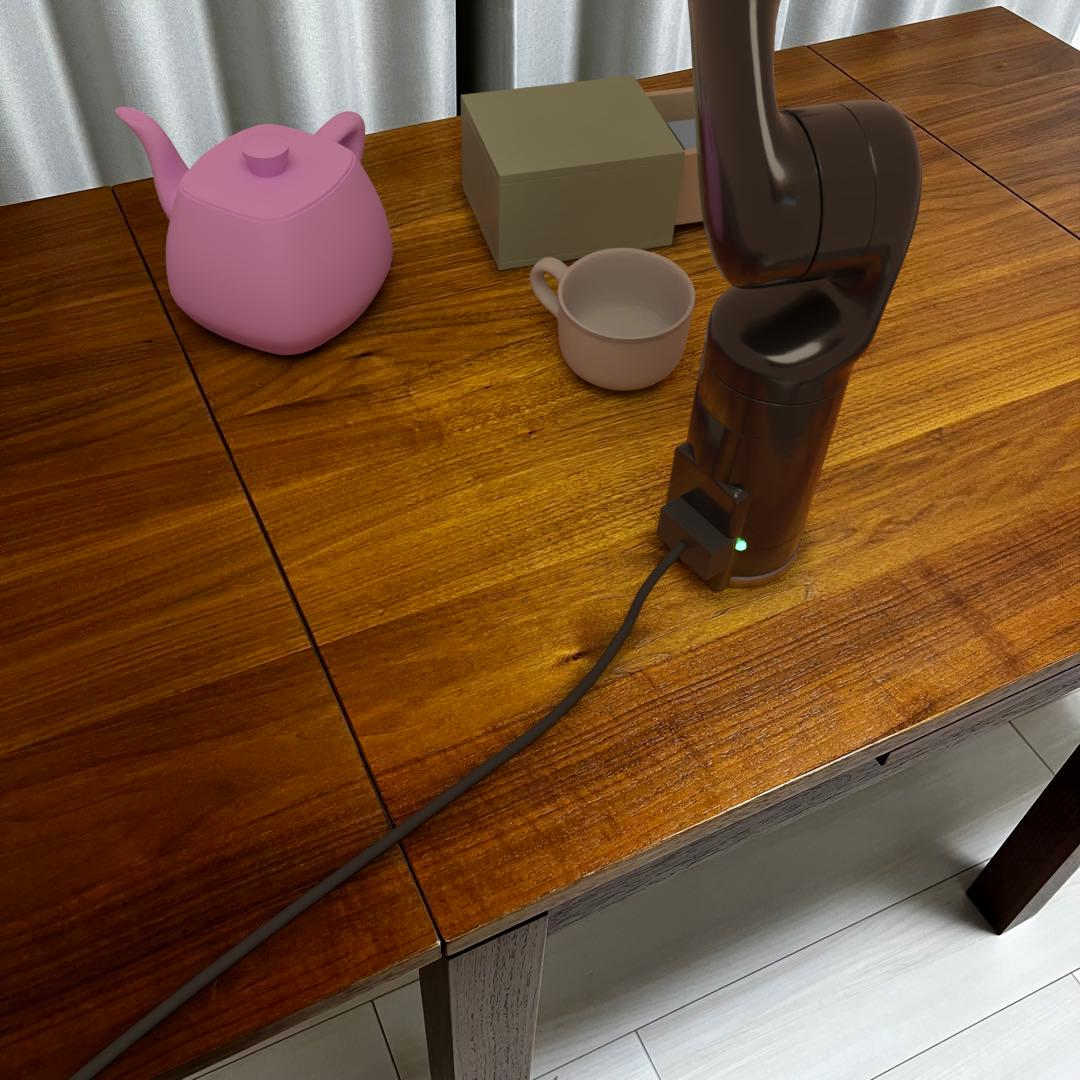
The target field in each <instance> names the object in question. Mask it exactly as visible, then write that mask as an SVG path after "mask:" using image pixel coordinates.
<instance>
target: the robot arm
mask: <svg viewBox="0 0 1080 1080" xmlns="http://www.w3.org/2000/svg"><path fill="white" fill-rule="evenodd" d="M781 1H782V0H687V10H688V11H687V12H688V21H689V22H688V24H689V34H690V35H689V37H690V38H689V39H690V52H691V53H690V54H691V71H692V87H693V92H694V111H695V130H696V149H697V164H698V179H699V192H700V202H701V210H702V218H703V221H702V223H703V228H704V232H705V236H706V241H707V245H708V248H709V252H710V255H711V257H712V260H713V262H714V265H715V266H716V268H717V271H718V272H719V274H720V275H721V276H722V278H723V279H724V280H725V281H726V282H727V283H729V284H730V285H731V286H730V287H728V288H727V289H726V290H725V291H724V292H723V293H721V295H720V296H719V297H718V298H717V299H716V301H715V302H714V304H713V306H712V307H711V310H710V311H709V315H708V318H707V323H706V327H705V331H704V338H703V344H702V345H703V346H702V352H701V356H700V363H699V369H698V374H697V378H696V383H695V390H694V396H693V401H692V406H691V411H690V418H689V423H688V427H687V428H688V429H687V435H686V440H685V442H683V443H680V444H679V445H677V446H675V449H674V451H673V458H672V464H671V470H670V475H669V481H668V486H667V487H668V488H667V493H666V500H665V504H664V505H662V506H661V507H660V511H659V517H658V523H657V528H656V537H658V538H659V541H660V542H661V543H662V544H663V545H664V546H665V547H666V548H667V549H668V550H669V551H668V553H667V554H666V555H665V556H664V557H663V558H662V559H661V561H660V562H659V563H658V564H657V565H656V567H654V568H653V570H652V571H651V573H649V574H648V576H647V578H645V580H644V582H643V583H642V584H641V586H640V587H639V589H638V591H637V593H636V594H635V596H634V598H633V600H632V602H631V605H630V607H629V609H628V611H627V614H626V616H625V619H624V620H623V622H622V624H621V626H620V627H619V629H618V630H617V632H616V633H615V635H614V637H613V638H612V640H611V641H610V643H609V645H608V646H607V647H606V649H605V650H604V652H603V653H602V654H601V656H600V657H599V659H598V660H597V661H596V662H595V664H594V665H593V667H592V668H591V669H590V670H589V672H588V673H587V674H586V675H585V676H584V677H583V678H582V679H581V681H579V683H577V685H575V687H573V689H572V690H571V691H570V692H569V693H568V694H567V695H566V696H565V697H564V698H563V699H562V700H561V701H560V702H559V703H558V704H557V705H556V706H555V707H554V708H553V709H552V710H551V711H549V712H548V713H547V714H546V715H545V716H544V717H543V718H542V719H540V720H539V721H538V722H537V723H536V724H535V725H533V726H532V727H530V728H529V729H528V730H526V731H525V732H524V733H522V734H521V735H520V736H518V737H517V738H516V739H514V740H513V741H512V742H510V743H509V744H507V745H506V746H504V747H503V748H502V749H501V750H499V751H498V752H497V753H495V754H493V755H492V756H490V757H489V758H488V759H487V760H485V761H484V762H482V763H481V764H479V765H478V766H477V767H475V768H474V769H472V770H471V772H469V773H467V774H466V775H465V776H464V777H462V778H461V779H459V780H458V781H457V782H456V783H454V784H453V785H451V786H450V787H449V788H447V789H446V790H445V791H443V792H442V793H440V795H437V796H436V797H435V798H434V799H433V800H431V801H430V802H429V803H427V804H425V805H424V806H423V807H422V808H420V809H419V810H417V811H416V812H415V813H413V814H412V815H411V816H409V817H408V818H407V819H405V820H404V821H402V822H401V823H400V824H398V825H397V826H396V827H394V828H393V829H391V830H390V831H389V832H387V833H386V834H385V835H383V836H382V837H381V838H379V839H377V841H374V842H373V844H370V845H369V846H368V847H367V848H366V849H364V850H363V851H362V852H360V853H358V854H357V855H356V856H354V857H353V858H352V859H350V860H349V861H347V863H344V865H342V866H341V867H339V868H338V869H337V870H336V871H334V872H333V873H331V874H330V875H329V876H327V877H326V878H324V879H323V880H321V881H320V882H319V883H317V884H316V885H315V886H314V887H312V888H311V889H310V890H308V891H306V892H305V893H304V894H303V895H301V896H300V897H298V898H297V899H296V900H294V901H293V902H291V904H289V905H288V906H286V907H285V908H284V909H282V910H281V911H280V912H278V913H277V914H275V915H274V916H273V917H272V918H270V919H269V920H268V921H266V922H265V923H263V924H262V925H261V926H259V927H258V928H257V929H256V930H254V931H253V932H252V933H250V934H249V935H248V936H246V938H244V939H243V940H241V941H240V942H239V943H237V944H236V945H234V946H233V947H231V948H230V949H229V950H228V951H226V952H225V953H224V954H223V955H221V956H220V957H219V958H217V959H216V960H215V961H213V962H212V963H211V964H209V965H208V966H207V967H206V968H205V969H203V970H202V971H201V972H199V973H198V974H196V975H195V976H194V977H193V978H191V979H190V980H189V981H188V982H186V983H185V984H183V986H181V987H179V989H177V990H176V991H175V992H173V993H172V994H171V995H170V996H168V997H167V998H166V999H165V1000H163V1001H162V1002H161V1003H160V1004H158V1005H157V1006H156V1007H155V1008H154V1009H152V1010H151V1011H150V1012H148V1013H147V1014H146V1015H145V1016H144V1017H142V1018H141V1019H139V1020H138V1021H137V1022H136V1023H135V1024H133V1025H132V1026H131V1027H130V1028H128V1029H127V1030H126V1031H125V1032H124V1033H123V1034H121V1035H120V1036H119V1037H118V1038H116V1039H115V1040H114V1041H113V1042H112V1043H110V1044H109V1045H108V1046H107V1047H105V1048H104V1049H103V1050H102V1051H101V1052H99V1053H98V1054H97V1055H95V1056H94V1057H93V1058H92V1059H91V1060H90V1061H89V1062H87V1063H86V1064H84V1066H82V1067H81V1068H80V1069H79V1070H78V1071H76V1072H75V1073H74V1074H73V1075H72V1076H70V1077H69V1078H68V1079H67V1080H91V1079H93V1078H94V1077H95V1076H96V1075H98V1074H99V1073H100V1072H101V1071H102V1070H104V1069H105V1068H106V1067H107V1066H108V1065H109V1064H111V1063H112V1062H113V1061H114V1060H115V1059H117V1058H118V1057H119V1056H120V1055H122V1054H123V1053H124V1052H125V1051H126V1050H128V1049H129V1048H130V1047H131V1046H133V1045H134V1044H135V1043H136V1042H137V1041H138V1040H140V1039H141V1038H142V1037H144V1035H146V1034H147V1033H148V1032H149V1031H151V1030H152V1029H153V1028H154V1027H155V1026H157V1025H158V1024H159V1023H160V1022H162V1021H163V1020H164V1019H166V1018H167V1017H168V1016H169V1015H171V1013H173V1012H175V1010H177V1009H178V1008H179V1007H180V1006H182V1005H183V1004H184V1003H185V1002H187V1001H188V1000H189V999H191V998H192V997H193V996H194V995H196V994H197V993H198V992H199V991H201V990H202V989H204V988H205V987H206V986H207V985H208V984H210V983H211V982H212V981H213V980H215V979H216V978H217V977H219V976H220V975H221V974H223V972H225V971H226V970H228V969H229V968H231V966H233V965H234V964H235V963H237V962H238V961H239V960H240V959H242V958H243V957H245V956H246V955H247V954H249V953H250V952H252V950H254V949H255V948H256V947H258V946H259V945H261V944H262V943H263V942H264V941H265V940H267V939H268V938H269V937H271V936H272V935H274V934H275V933H277V931H279V930H280V929H281V928H283V927H284V926H285V925H287V924H288V923H289V922H291V921H292V920H293V919H295V918H296V917H297V916H299V915H300V914H301V913H302V912H304V911H305V910H307V909H308V908H309V907H311V906H313V905H314V904H315V903H317V901H319V900H320V899H322V898H323V897H324V896H326V895H327V894H328V893H329V892H331V891H333V890H334V889H335V888H337V887H338V886H339V885H341V884H342V883H343V882H345V881H346V880H348V879H349V878H350V877H351V876H353V875H354V874H355V873H357V872H358V871H359V870H361V869H362V868H364V867H365V866H367V864H369V863H370V862H372V861H373V860H374V859H376V858H377V857H379V856H380V855H381V854H382V853H384V852H385V851H387V850H388V849H389V848H390V847H392V846H394V845H395V844H396V843H397V842H399V841H400V840H401V839H403V838H404V837H405V836H407V835H408V834H410V833H411V832H412V831H413V830H415V829H417V828H418V827H419V826H421V825H422V824H423V823H425V822H426V821H427V820H428V819H430V818H431V817H432V816H434V815H435V814H437V813H438V812H440V811H441V810H443V809H444V808H445V807H446V806H448V805H449V804H450V803H451V802H453V801H454V800H455V799H457V798H458V797H460V796H461V795H462V794H464V793H465V792H467V791H468V790H469V789H470V788H471V787H473V786H474V785H475V784H477V783H478V782H479V781H481V780H482V779H483V778H485V777H486V776H487V775H489V774H490V773H491V772H493V771H494V770H496V769H497V768H498V767H500V766H501V765H502V764H504V763H505V762H507V761H508V760H510V759H511V758H512V757H514V756H515V755H516V754H518V753H520V751H522V750H523V749H525V748H526V747H527V746H529V745H530V744H531V743H533V742H534V741H535V740H537V739H538V738H539V737H540V736H542V735H543V734H544V733H545V732H546V731H548V730H549V729H550V728H551V727H553V725H554V724H555V723H557V722H558V721H559V720H560V719H561V718H562V717H563V716H564V715H565V714H567V712H568V711H570V710H571V708H572V707H574V706H575V704H576V703H577V702H578V701H579V700H580V699H581V698H582V697H583V696H584V695H585V694H586V693H587V692H588V691H589V690H590V688H592V686H593V685H594V684H595V683H596V682H597V681H598V679H599V678H600V677H601V675H602V674H603V673H604V671H605V670H606V669H607V668H608V667H609V665H610V663H611V662H612V661H613V659H614V658H615V656H616V655H617V653H618V652H619V650H620V648H621V647H622V645H623V644H624V643H625V641H626V639H627V638H628V636H629V635H630V633H631V631H632V630H633V628H634V626H635V624H636V622H637V619H638V617H639V615H640V612H641V610H642V608H643V606H644V604H645V602H646V600H647V598H648V597H649V595H650V593H651V592H652V590H653V589H654V587H655V586H656V585H657V584H658V582H659V581H660V580H661V578H662V577H663V576H664V575H665V573H666V572H667V571H669V569H670V568H671V567H672V566H673V565H674V563H675V562H676V561H677V560H678V559H679V561H680V562H681V563H682V564H683V565H684V566H685V567H686V568H688V569H689V570H690V571H691V572H693V573H694V574H695V575H696V576H697V577H698V578H699V579H700V580H701V581H702V582H703V583H704V584H706V585H707V586H708V587H709V588H710V589H711V590H712V591H713V592H715V593H718V592H721V591H723V590H724V589H725V588H728V587H734V588H752V587H759V586H762V585H765V584H769V583H772V582H773V581H776V580H777V579H779V578H781V577H782V576H784V575H785V574H786V573H787V572H788V571H789V570H790V569H792V566H793V565H794V563H795V562H796V559H797V556H798V554H799V551H800V547H801V544H802V536H803V532H804V529H805V526H806V522H807V521H808V517H809V516H808V515H809V513H810V510H811V505H812V502H813V499H814V496H815V493H816V489H817V486H818V483H819V480H820V477H821V473H822V470H823V467H824V463H825V460H826V457H827V453H828V450H829V446H830V444H831V440H832V437H833V433H834V430H835V427H836V424H837V420H838V418H839V414H840V411H841V409H842V405H843V401H844V399H845V395H846V392H847V388H848V386H849V383H850V378H851V375H852V374H853V373H852V372H853V369H854V366H855V365H856V363H857V362H858V361H860V359H861V358H862V357H863V356H864V355H865V354H866V353H867V351H868V350H869V348H870V346H871V345H872V343H873V341H874V339H875V337H876V334H877V332H878V329H879V327H880V323H881V321H882V318H883V316H884V314H885V311H886V309H887V305H888V303H889V301H890V298H891V296H892V292H893V291H894V288H895V285H896V282H897V281H898V278H899V275H900V273H901V270H902V267H903V265H904V263H905V259H906V257H907V254H908V251H909V249H910V246H911V243H912V240H913V236H914V232H915V228H916V225H917V221H918V217H919V213H920V207H921V198H922V192H923V191H922V190H923V164H922V155H921V150H920V144H919V141H918V138H917V136H916V133H915V131H914V128H913V126H912V124H911V123H910V121H909V120H908V119H907V117H906V116H905V114H903V113H902V111H901V110H900V109H898V108H897V107H896V106H894V105H893V104H892V103H889V102H887V101H883V100H880V99H869V98H864V99H862V98H861V99H851V100H842V101H834V102H825V103H816V104H809V105H800V106H790V107H791V108H783V107H782V108H783V109H781V108H779V103H778V99H777V98H778V97H777V91H776V90H777V89H776V79H775V78H776V75H775V72H776V71H775V49H776V48H775V47H776V31H777V21H778V16H779V10H780V6H781Z"/></svg>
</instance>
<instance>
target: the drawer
mask: <svg viewBox="0 0 1080 1080" xmlns="http://www.w3.org/2000/svg"><path fill="white" fill-rule="evenodd" d="M644 92H645V93H646V95H647V96H648V98H649V99H650V101H651V102H652V104H653V105H654V107H655V108H656V110H657V111H658V112H659V114H660V115H661V117H662V118H663V120H664V121H665V123H666V124H667V122H674V121H682V120H690V119H695V111H694V92H693V86H686V87H678V88H670V89H660V90H653V91H644ZM791 107H792V106H790V105H785V106H783V107H781V108H780V109H783V108H791ZM684 151H685V156H684V162H683V169H682V176H681V183H680V190H679V197H678V204H677V211H676V218H675V225H674V226H680V225H686V224H694V223H701V222H703V218H702V210H701V202H700V192H699V179H698V164H697V149H696V148H694V149H686V150H684Z"/></svg>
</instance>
